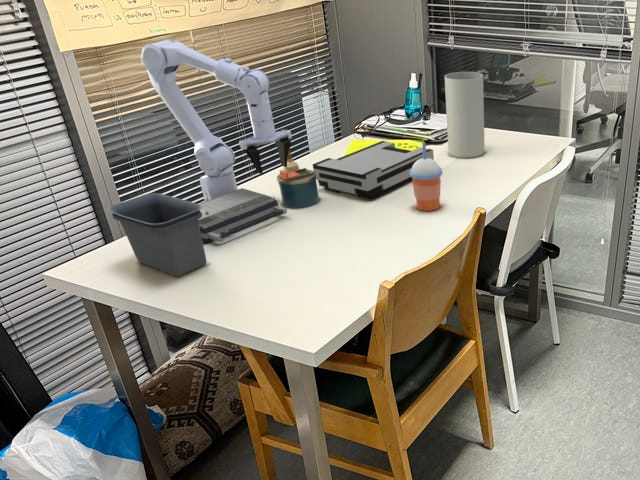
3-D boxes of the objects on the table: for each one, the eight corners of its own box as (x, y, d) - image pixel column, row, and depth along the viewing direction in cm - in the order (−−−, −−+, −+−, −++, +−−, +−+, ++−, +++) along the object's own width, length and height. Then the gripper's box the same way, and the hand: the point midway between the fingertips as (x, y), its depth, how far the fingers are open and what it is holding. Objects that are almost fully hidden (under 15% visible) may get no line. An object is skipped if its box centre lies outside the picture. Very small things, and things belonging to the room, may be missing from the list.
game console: (434, 171, 211) (432, 145, 206) (369, 203, 189) (365, 175, 184) (384, 161, 220) (382, 137, 216) (317, 191, 198) (312, 164, 194)
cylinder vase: (444, 150, 229) (440, 73, 215) (478, 146, 232) (476, 70, 218) (454, 160, 219) (450, 81, 205) (489, 156, 222) (488, 77, 208)
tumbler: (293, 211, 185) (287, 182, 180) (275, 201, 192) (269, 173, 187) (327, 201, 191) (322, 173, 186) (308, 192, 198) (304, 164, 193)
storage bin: (121, 263, 159) (100, 207, 151) (176, 241, 170) (160, 187, 162) (174, 285, 149) (155, 226, 141) (230, 259, 160) (215, 203, 152)
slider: (285, 180, 183) (284, 174, 182) (279, 176, 186) (278, 170, 185) (300, 176, 186) (299, 170, 185) (293, 173, 188) (292, 167, 187)
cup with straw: (439, 214, 181) (435, 148, 170) (408, 212, 182) (402, 147, 172) (447, 202, 188) (444, 138, 178) (417, 200, 190) (412, 137, 179)
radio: (240, 185, 189) (286, 198, 179) (244, 202, 192) (289, 216, 182) (163, 212, 173) (209, 228, 163) (169, 231, 176) (215, 248, 166)
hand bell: (292, 187, 202) (281, 134, 193) (274, 182, 206) (264, 130, 197) (312, 179, 207) (303, 128, 198) (295, 175, 211) (285, 124, 202)
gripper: (243, 127, 170) (255, 178, 178) (293, 116, 178) (302, 166, 186) (231, 122, 174) (243, 173, 182) (280, 112, 182) (289, 161, 190)
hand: (272, 169), depth 184 cm, fingers open, 7 cm apart
